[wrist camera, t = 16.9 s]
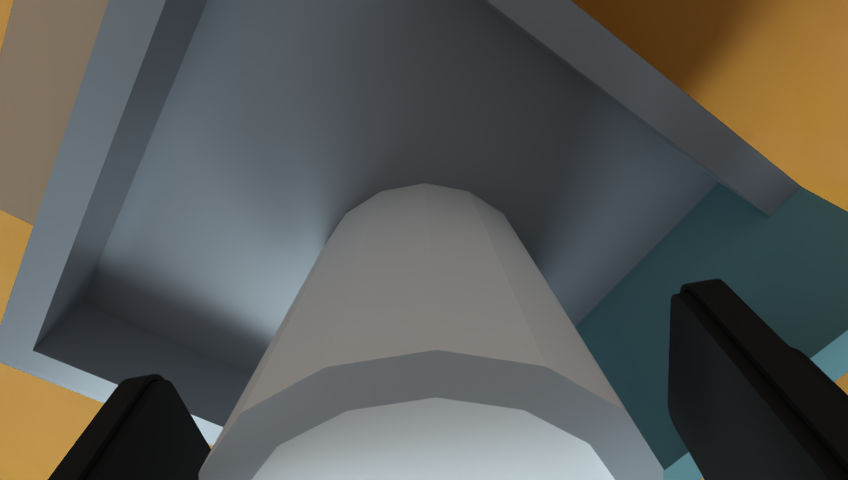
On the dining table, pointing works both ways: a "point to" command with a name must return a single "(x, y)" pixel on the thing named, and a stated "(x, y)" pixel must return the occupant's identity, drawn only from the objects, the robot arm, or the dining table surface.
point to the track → (40, 92)
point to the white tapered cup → (428, 362)
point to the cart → (389, 169)
